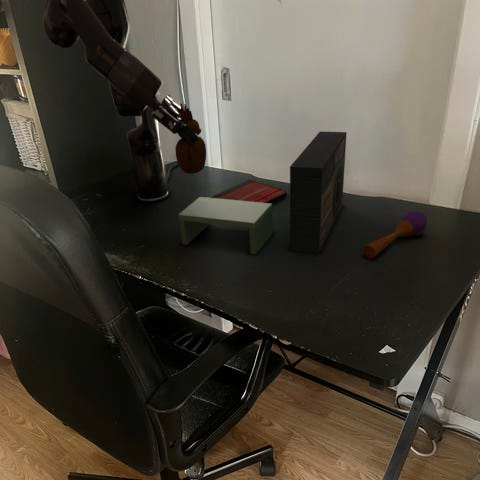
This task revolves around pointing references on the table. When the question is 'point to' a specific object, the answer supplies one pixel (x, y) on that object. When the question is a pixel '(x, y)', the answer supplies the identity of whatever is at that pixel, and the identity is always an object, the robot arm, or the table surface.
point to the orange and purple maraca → (399, 232)
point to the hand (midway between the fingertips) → (197, 137)
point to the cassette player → (316, 191)
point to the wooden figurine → (190, 146)
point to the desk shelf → (228, 219)
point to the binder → (252, 192)
